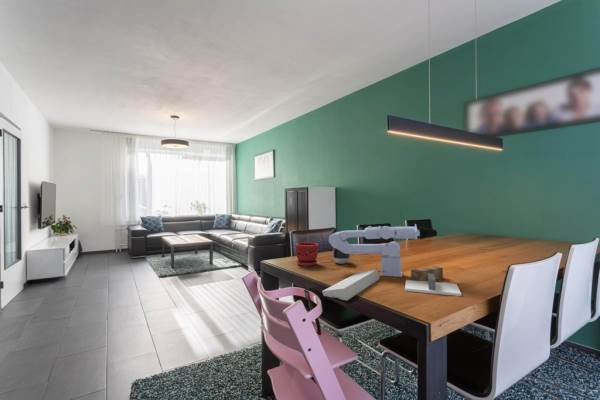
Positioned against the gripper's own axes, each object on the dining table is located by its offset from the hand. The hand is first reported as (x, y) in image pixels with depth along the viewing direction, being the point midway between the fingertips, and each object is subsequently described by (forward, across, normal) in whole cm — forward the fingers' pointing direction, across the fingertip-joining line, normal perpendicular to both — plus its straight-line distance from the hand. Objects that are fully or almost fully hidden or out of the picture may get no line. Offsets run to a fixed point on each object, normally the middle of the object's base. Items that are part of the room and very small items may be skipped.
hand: (436, 232), depth 136 cm
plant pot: (-68, +9, +19) cm, 71 cm away
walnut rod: (-5, -2, +21) cm, 22 cm away
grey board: (-4, -17, +22) cm, 28 cm away
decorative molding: (-34, -24, +22) cm, 48 cm away
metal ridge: (-4, -17, +22) cm, 28 cm away
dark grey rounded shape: (-50, +19, +19) cm, 57 cm away
